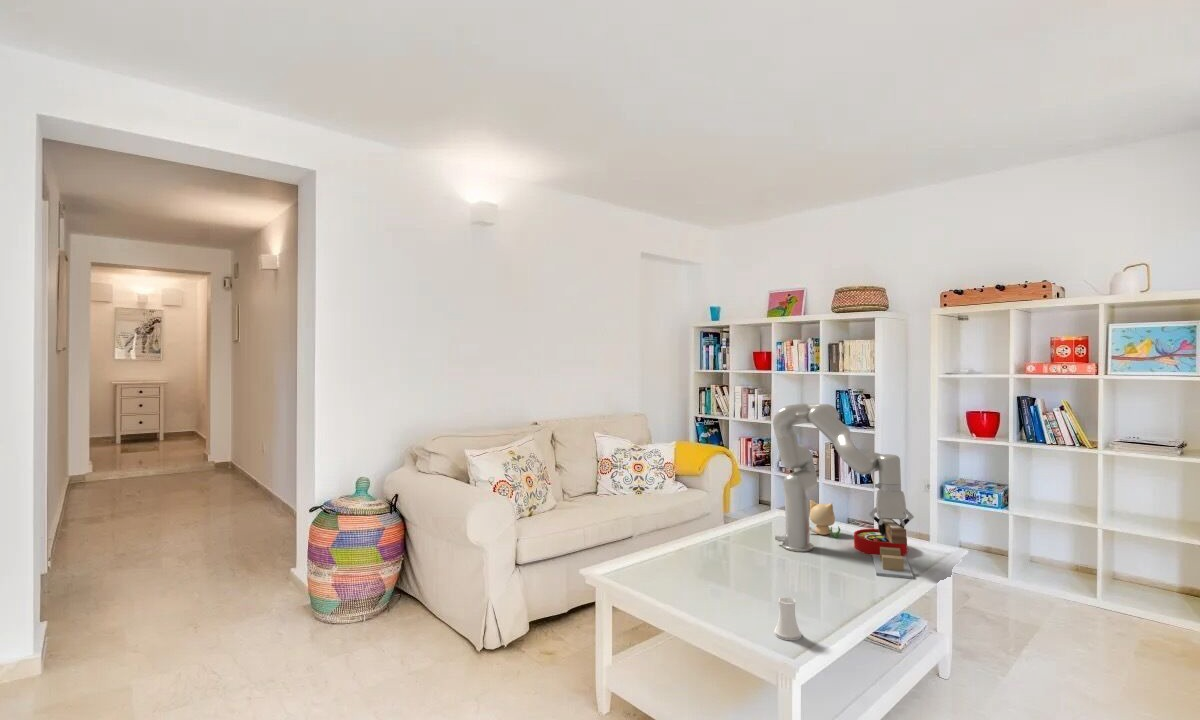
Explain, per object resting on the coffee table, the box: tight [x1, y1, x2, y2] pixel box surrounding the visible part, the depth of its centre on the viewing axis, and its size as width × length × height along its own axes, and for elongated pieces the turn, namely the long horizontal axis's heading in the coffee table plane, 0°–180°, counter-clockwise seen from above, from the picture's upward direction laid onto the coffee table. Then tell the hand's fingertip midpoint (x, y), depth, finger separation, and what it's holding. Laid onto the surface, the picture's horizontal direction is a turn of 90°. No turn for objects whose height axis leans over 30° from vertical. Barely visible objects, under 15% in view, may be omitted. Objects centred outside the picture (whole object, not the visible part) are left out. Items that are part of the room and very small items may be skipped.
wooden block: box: [877, 518, 908, 545], centre depth 231 cm, size 16×5×5 cm, turn 172°
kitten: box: [809, 499, 841, 538], centre depth 275 cm, size 15×10×15 cm
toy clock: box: [853, 528, 908, 556], centre depth 253 cm, size 20×6×20 cm
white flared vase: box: [773, 596, 802, 641], centre depth 177 cm, size 8×8×10 cm
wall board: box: [871, 547, 914, 580], centre depth 231 cm, size 12×22×6 cm, turn 159°
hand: (891, 534), depth 231 cm, fingers closed on wooden block, 5 cm apart
